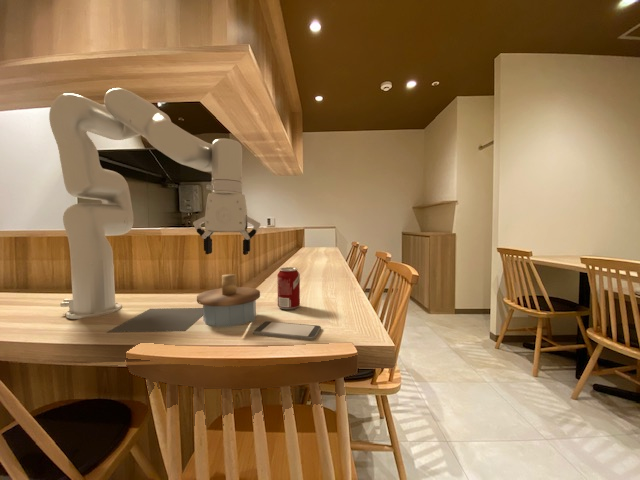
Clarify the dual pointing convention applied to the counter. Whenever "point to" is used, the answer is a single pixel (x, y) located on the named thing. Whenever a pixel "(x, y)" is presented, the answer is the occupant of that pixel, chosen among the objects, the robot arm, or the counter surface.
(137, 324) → the mat
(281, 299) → the soda can
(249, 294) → the lid
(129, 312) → the counter surface
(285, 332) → the smartphone
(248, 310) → the bowl
